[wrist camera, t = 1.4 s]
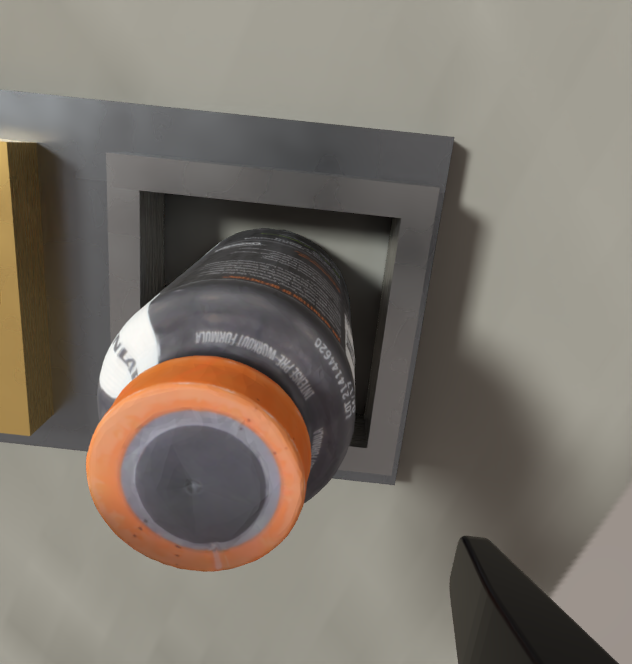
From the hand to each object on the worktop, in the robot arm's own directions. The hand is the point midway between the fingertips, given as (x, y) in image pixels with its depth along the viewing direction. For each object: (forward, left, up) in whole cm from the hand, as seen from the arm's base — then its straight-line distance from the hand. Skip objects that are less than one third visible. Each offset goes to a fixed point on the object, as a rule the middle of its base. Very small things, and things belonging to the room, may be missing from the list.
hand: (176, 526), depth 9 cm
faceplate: (0, +6, -12) cm, 14 cm away
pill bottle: (0, 0, -12) cm, 13 cm away
